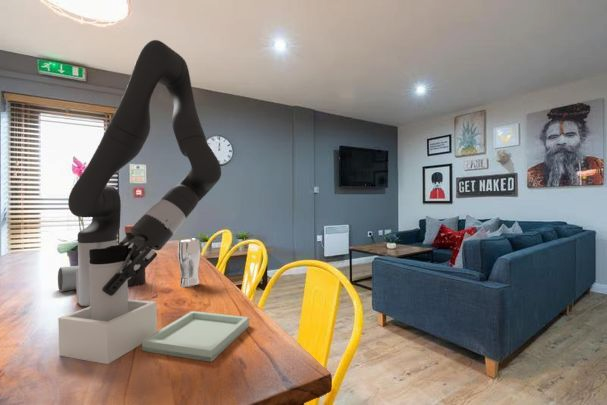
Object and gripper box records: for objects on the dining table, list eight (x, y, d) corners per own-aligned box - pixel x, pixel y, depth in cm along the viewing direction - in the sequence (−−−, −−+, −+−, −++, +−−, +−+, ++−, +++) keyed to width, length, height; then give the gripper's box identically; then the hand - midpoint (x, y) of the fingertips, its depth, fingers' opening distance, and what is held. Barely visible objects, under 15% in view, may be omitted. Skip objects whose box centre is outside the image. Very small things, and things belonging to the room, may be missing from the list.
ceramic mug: (94, 287, 97) (93, 264, 97) (62, 294, 91) (62, 269, 91) (84, 282, 104) (84, 260, 104) (54, 288, 98) (54, 265, 98)
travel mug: (101, 356, 54) (99, 248, 54) (85, 346, 58) (82, 245, 57) (136, 341, 60) (133, 243, 59) (119, 334, 63) (117, 240, 63)
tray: (142, 350, 56) (141, 340, 56) (192, 319, 71) (191, 311, 71) (211, 361, 52) (211, 350, 52) (249, 325, 67) (249, 317, 67)
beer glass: (193, 288, 95) (192, 241, 95) (173, 287, 97) (173, 241, 96) (204, 282, 102) (203, 238, 102) (186, 281, 103) (185, 238, 103)
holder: (59, 355, 55) (58, 318, 55) (114, 328, 66) (113, 297, 66) (107, 364, 52) (106, 324, 52) (156, 334, 63) (156, 302, 63)
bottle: (128, 281, 104) (127, 224, 103) (148, 281, 104) (147, 224, 104) (118, 287, 97) (117, 226, 97) (140, 286, 98) (138, 226, 97)
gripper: (132, 212, 69) (71, 273, 60) (163, 214, 60) (96, 286, 51) (156, 232, 73) (101, 293, 64) (188, 237, 64) (130, 307, 55)
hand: (99, 289), depth 57 cm, fingers closed on travel mug, 6 cm apart
